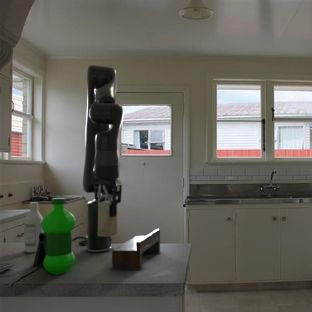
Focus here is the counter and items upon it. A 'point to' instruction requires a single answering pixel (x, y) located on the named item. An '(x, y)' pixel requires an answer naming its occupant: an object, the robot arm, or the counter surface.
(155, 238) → the shelf
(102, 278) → the counter surface
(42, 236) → the phone stand
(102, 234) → the box
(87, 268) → the counter surface
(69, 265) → the plastic bottle
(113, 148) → the robot arm
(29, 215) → the bath foam
